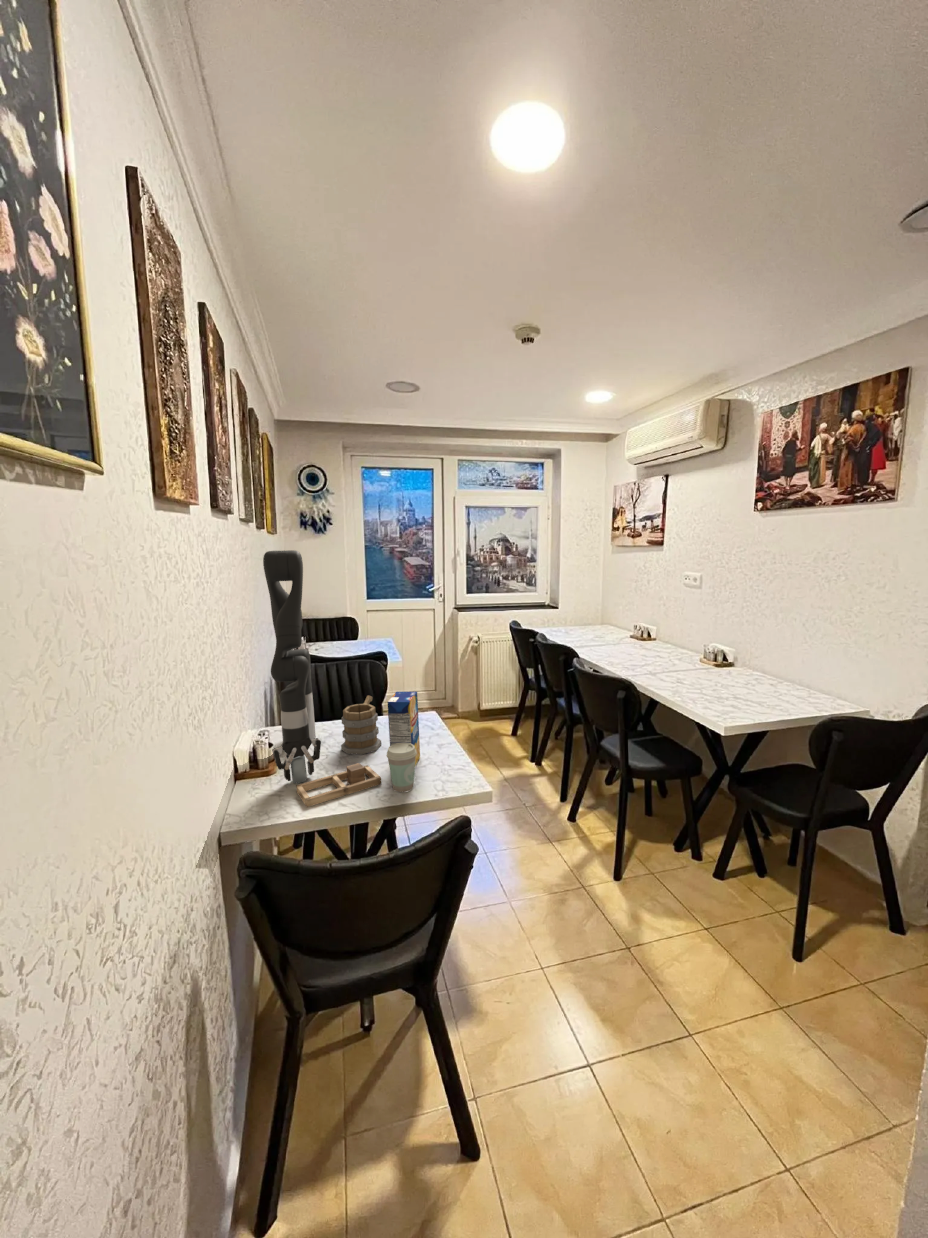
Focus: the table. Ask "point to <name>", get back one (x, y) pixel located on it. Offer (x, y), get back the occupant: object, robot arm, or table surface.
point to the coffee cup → (402, 766)
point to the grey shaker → (298, 769)
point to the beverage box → (404, 720)
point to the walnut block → (355, 773)
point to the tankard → (360, 728)
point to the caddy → (337, 781)
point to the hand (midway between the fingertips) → (299, 776)
